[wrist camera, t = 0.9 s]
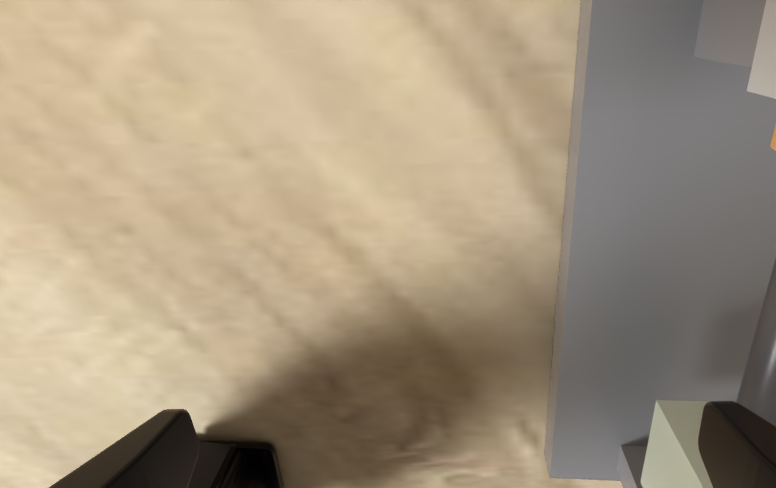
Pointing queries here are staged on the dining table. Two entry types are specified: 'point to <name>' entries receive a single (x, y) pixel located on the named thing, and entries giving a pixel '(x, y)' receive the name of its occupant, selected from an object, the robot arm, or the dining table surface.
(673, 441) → the sleeve
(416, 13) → the dining table surface
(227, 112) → the dining table surface
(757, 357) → the axle rod stand
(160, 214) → the dining table surface
